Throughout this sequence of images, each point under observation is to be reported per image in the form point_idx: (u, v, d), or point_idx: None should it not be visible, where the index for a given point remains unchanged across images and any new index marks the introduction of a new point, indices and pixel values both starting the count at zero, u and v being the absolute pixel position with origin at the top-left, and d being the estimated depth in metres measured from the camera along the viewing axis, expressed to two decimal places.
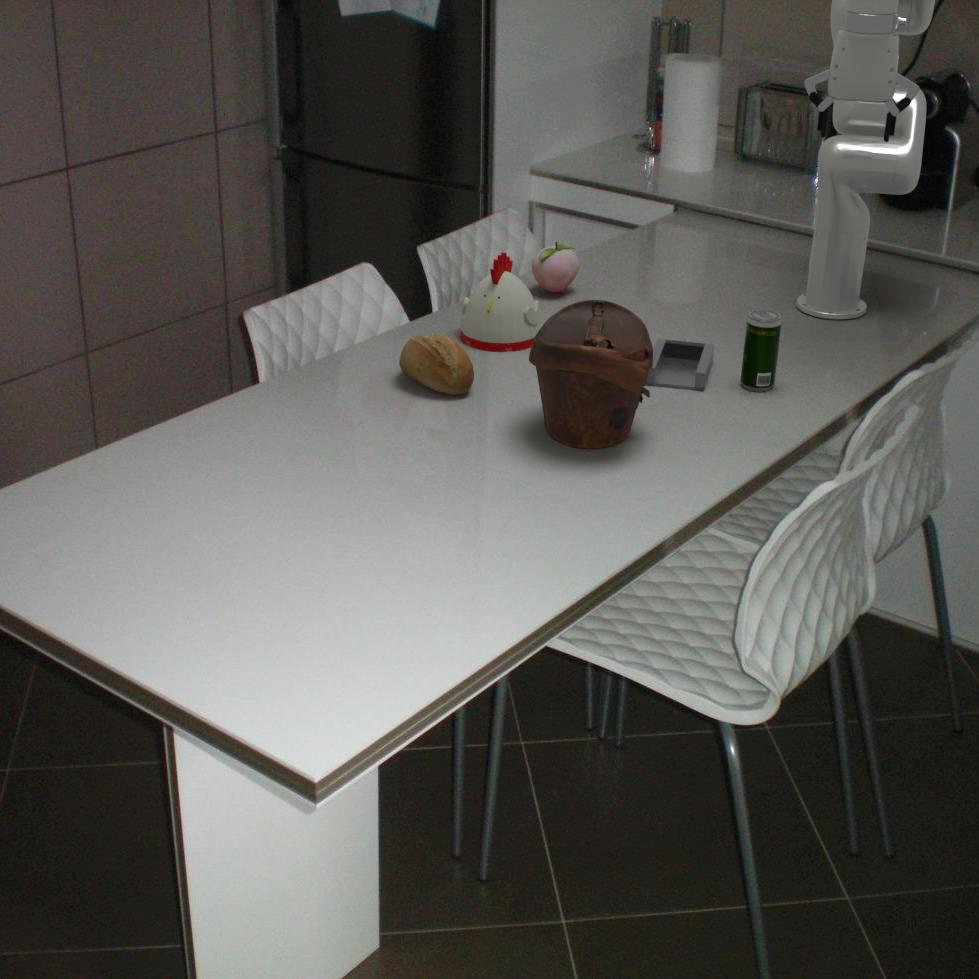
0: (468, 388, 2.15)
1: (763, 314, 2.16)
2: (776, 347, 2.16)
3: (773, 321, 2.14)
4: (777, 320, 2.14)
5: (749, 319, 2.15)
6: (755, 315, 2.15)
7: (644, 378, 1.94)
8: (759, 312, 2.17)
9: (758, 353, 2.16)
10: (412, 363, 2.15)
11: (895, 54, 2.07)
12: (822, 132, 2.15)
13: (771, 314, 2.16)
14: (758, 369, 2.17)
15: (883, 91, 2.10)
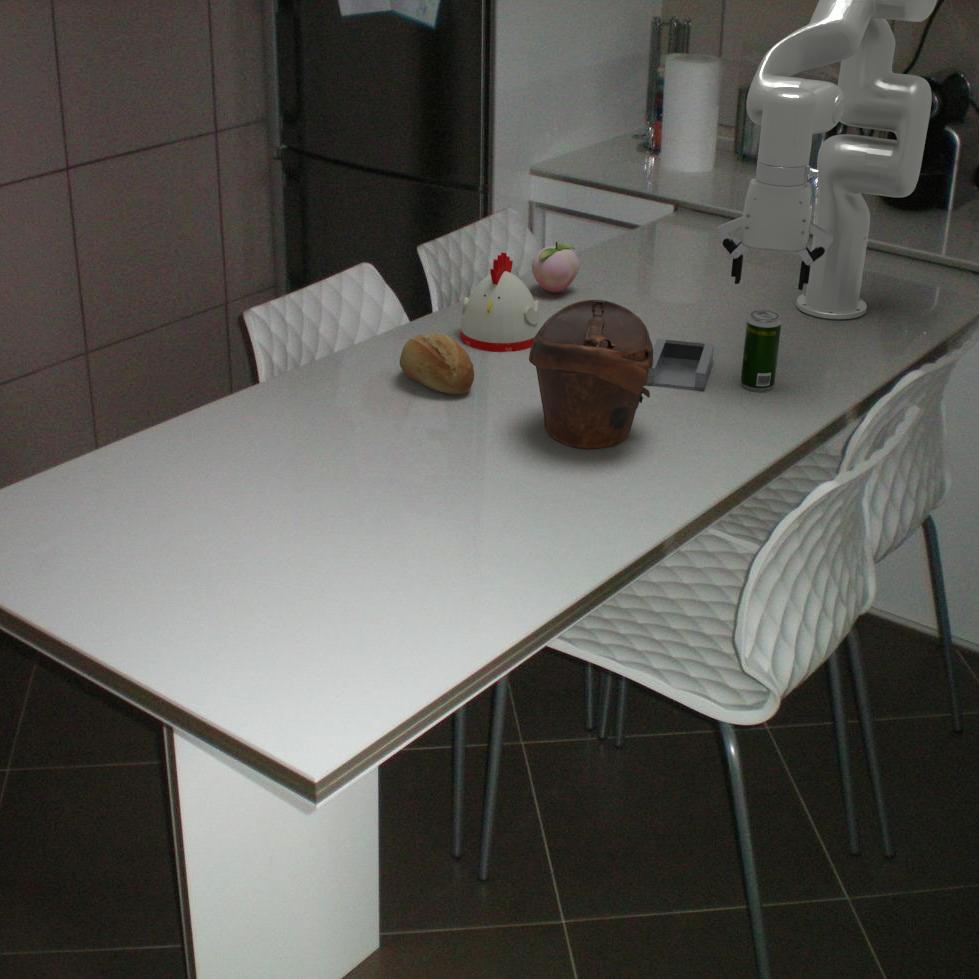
0: (468, 388, 2.15)
1: (763, 314, 2.16)
2: (776, 347, 2.16)
3: (773, 321, 2.14)
4: (777, 320, 2.14)
5: (749, 319, 2.15)
6: (755, 315, 2.15)
7: (644, 378, 1.94)
8: (759, 312, 2.17)
9: (758, 353, 2.16)
10: (412, 363, 2.15)
11: (807, 205, 2.04)
12: (736, 279, 2.12)
13: (771, 314, 2.16)
14: (758, 369, 2.17)
15: (796, 241, 2.06)
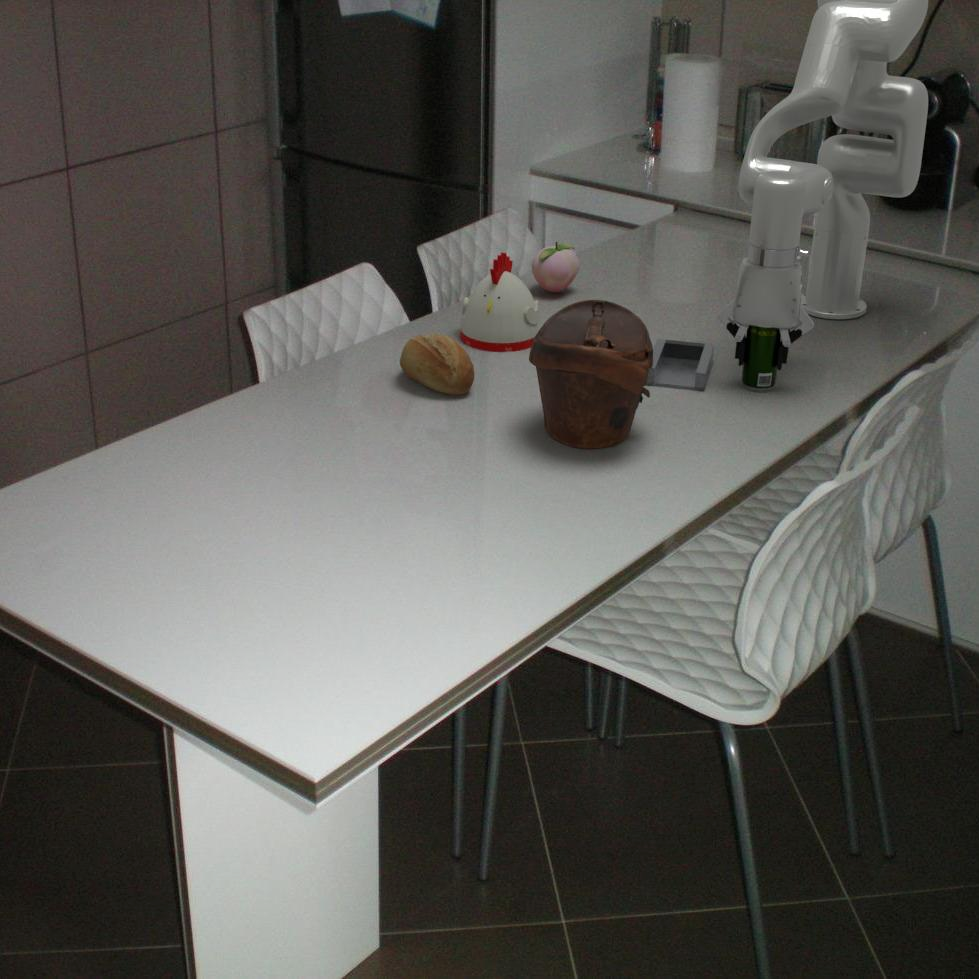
0: (468, 388, 2.15)
1: None
2: (777, 347, 2.16)
3: None
4: None
5: None
6: None
7: (644, 378, 1.94)
8: None
9: (759, 353, 2.16)
10: (412, 363, 2.15)
11: (797, 285, 2.10)
12: (739, 361, 2.18)
13: None
14: (759, 369, 2.17)
15: (787, 319, 2.12)
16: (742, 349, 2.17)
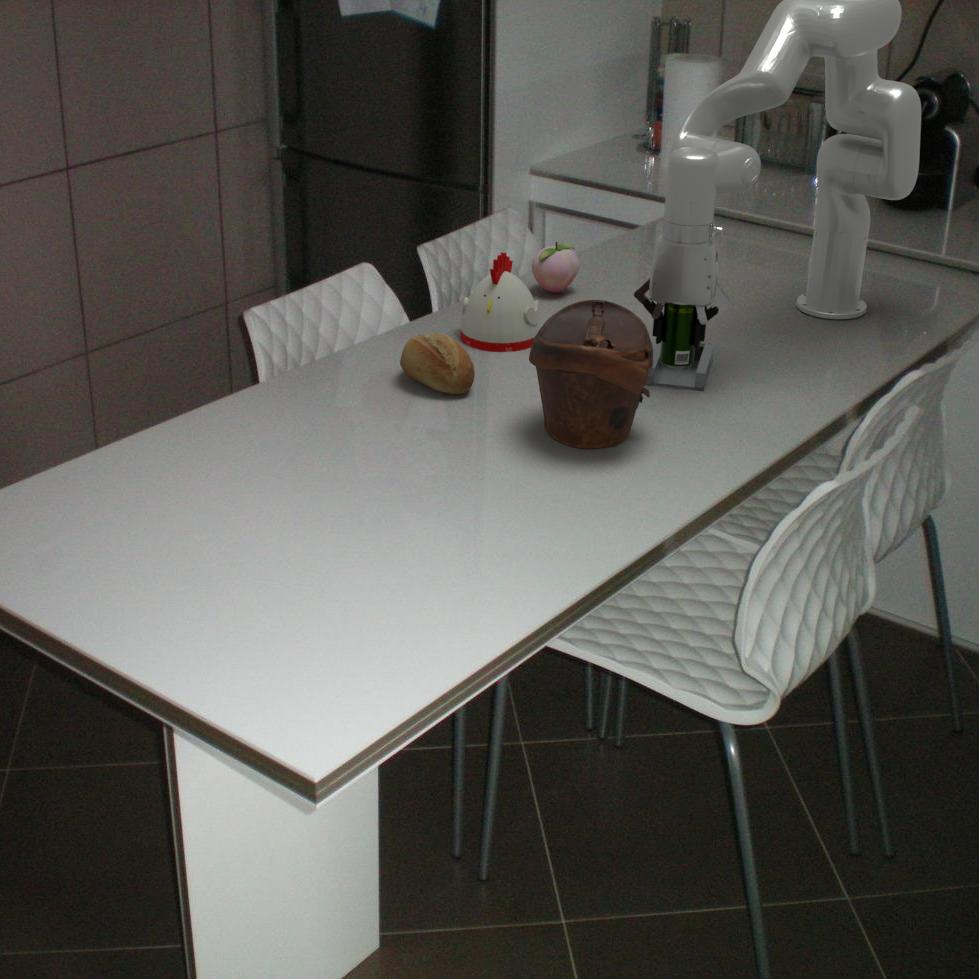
0: (468, 388, 2.15)
1: None
2: (694, 325, 2.15)
3: None
4: None
5: None
6: None
7: (644, 378, 1.94)
8: None
9: (675, 331, 2.15)
10: (412, 363, 2.15)
11: (712, 262, 2.09)
12: (657, 339, 2.17)
13: None
14: (676, 347, 2.16)
15: (702, 296, 2.11)
16: (659, 327, 2.16)
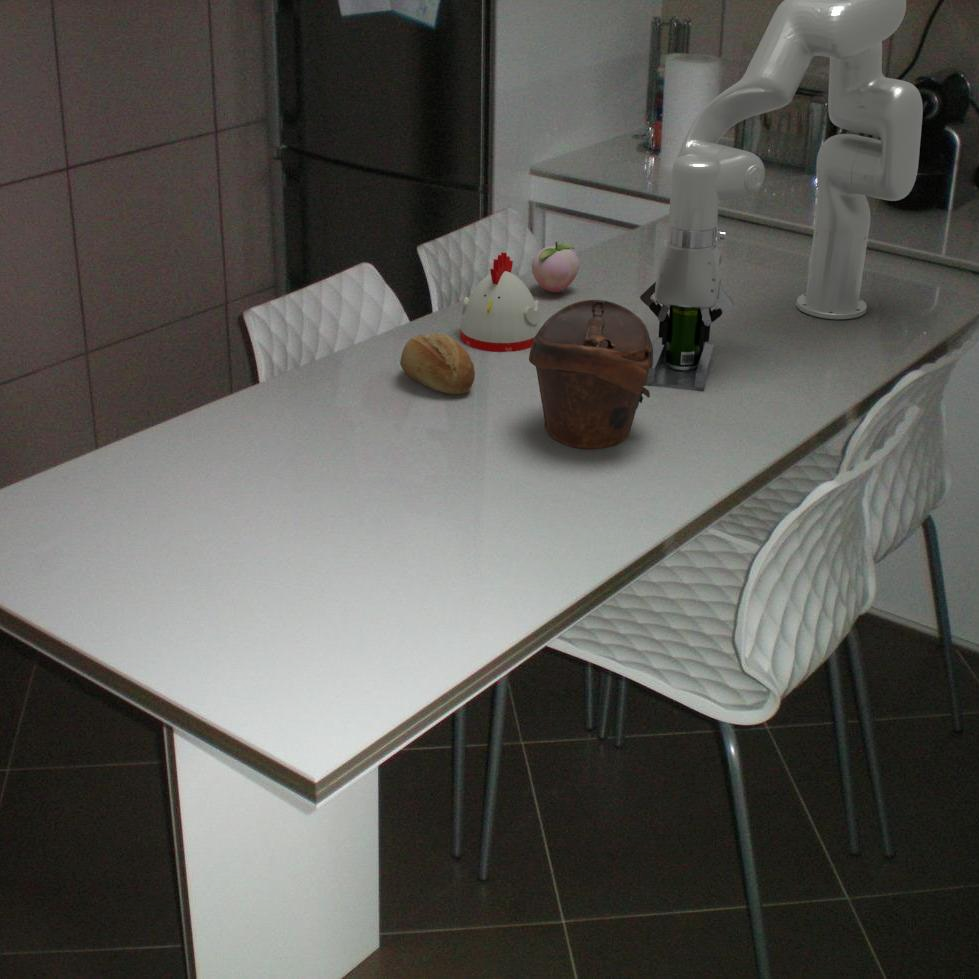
0: (469, 388, 2.15)
1: None
2: (699, 326, 2.22)
3: None
4: None
5: None
6: None
7: (644, 378, 1.94)
8: None
9: (681, 332, 2.21)
10: (412, 363, 2.15)
11: (716, 265, 2.15)
12: (663, 340, 2.23)
13: None
14: (682, 348, 2.23)
15: (707, 298, 2.18)
16: (665, 328, 2.22)
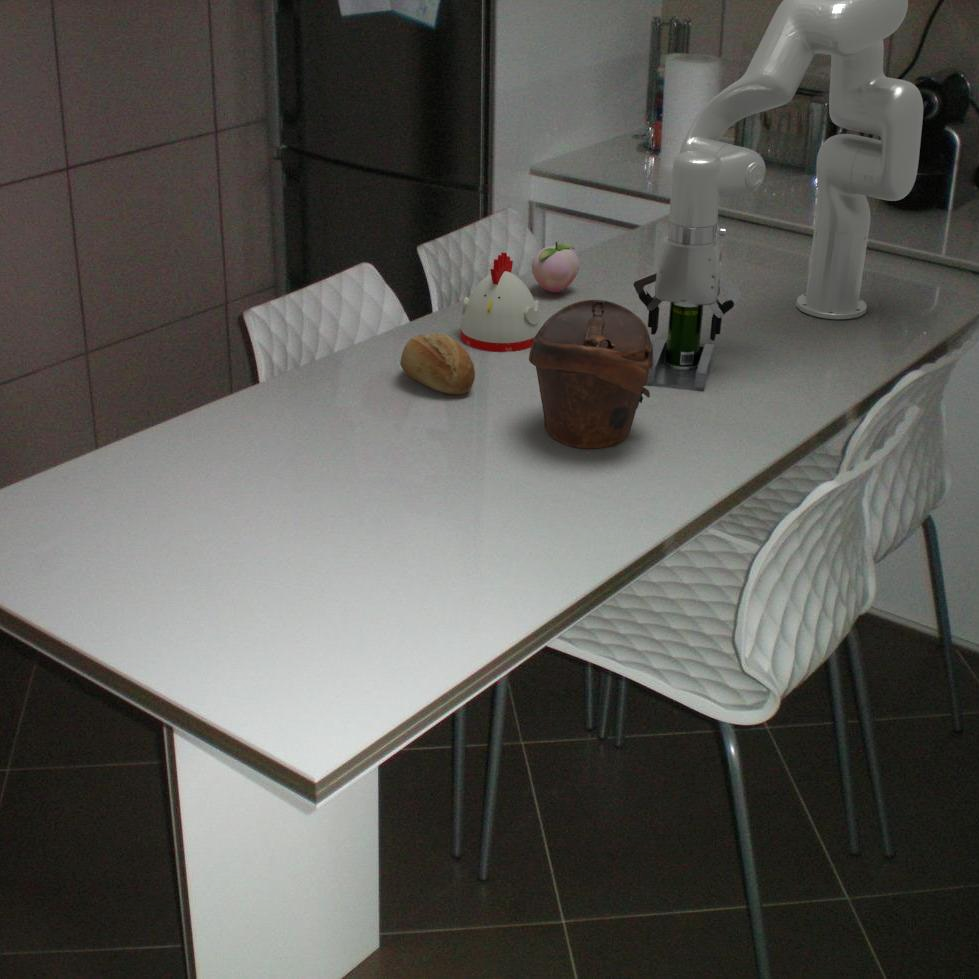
0: (469, 388, 2.15)
1: None
2: (699, 326, 2.22)
3: None
4: None
5: None
6: None
7: (644, 378, 1.94)
8: None
9: (680, 332, 2.22)
10: (413, 363, 2.15)
11: (716, 262, 2.16)
12: (652, 330, 2.24)
13: None
14: (681, 348, 2.23)
15: (707, 295, 2.18)
16: (654, 318, 2.23)
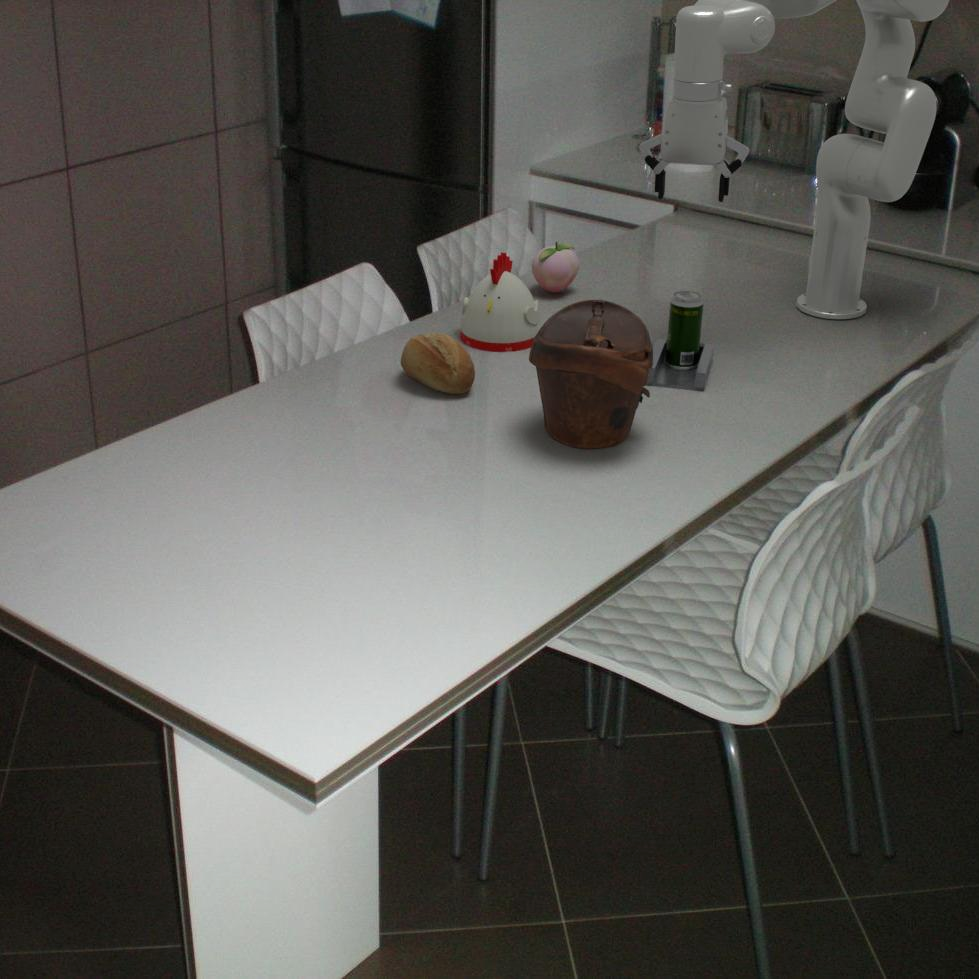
0: (469, 387, 2.15)
1: (686, 294, 2.22)
2: (698, 327, 2.22)
3: (695, 301, 2.20)
4: (699, 300, 2.20)
5: (672, 299, 2.21)
6: (678, 295, 2.21)
7: (644, 378, 1.94)
8: (682, 293, 2.23)
9: (680, 332, 2.22)
10: (413, 362, 2.15)
11: (722, 119, 2.13)
12: (659, 194, 2.21)
13: (693, 295, 2.22)
14: (681, 348, 2.23)
15: (714, 154, 2.16)
16: (661, 181, 2.20)
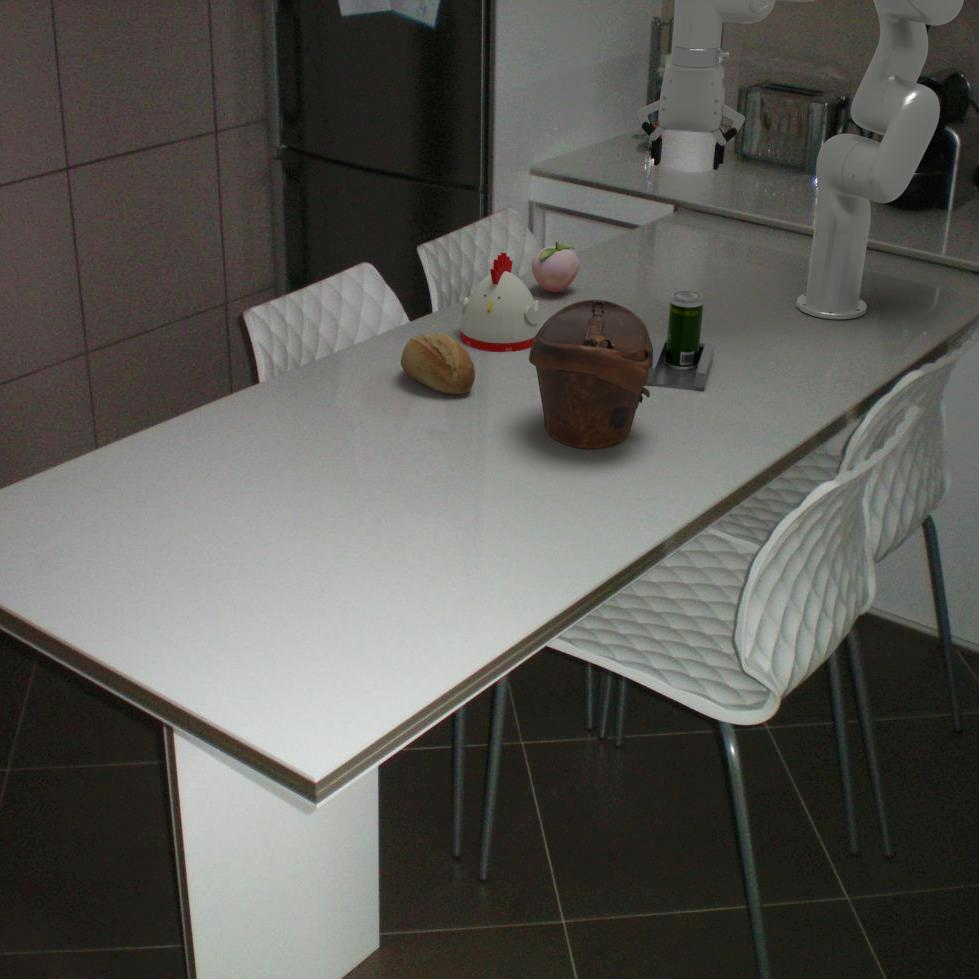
0: (469, 388, 2.15)
1: (686, 295, 2.22)
2: (698, 327, 2.22)
3: (694, 301, 2.20)
4: (699, 300, 2.20)
5: (672, 299, 2.21)
6: (678, 295, 2.21)
7: (644, 378, 1.94)
8: (682, 293, 2.23)
9: (680, 332, 2.22)
10: (413, 363, 2.15)
11: (719, 86, 2.16)
12: (655, 160, 2.24)
13: (693, 295, 2.22)
14: (681, 348, 2.23)
15: (710, 121, 2.18)
16: (657, 148, 2.23)
